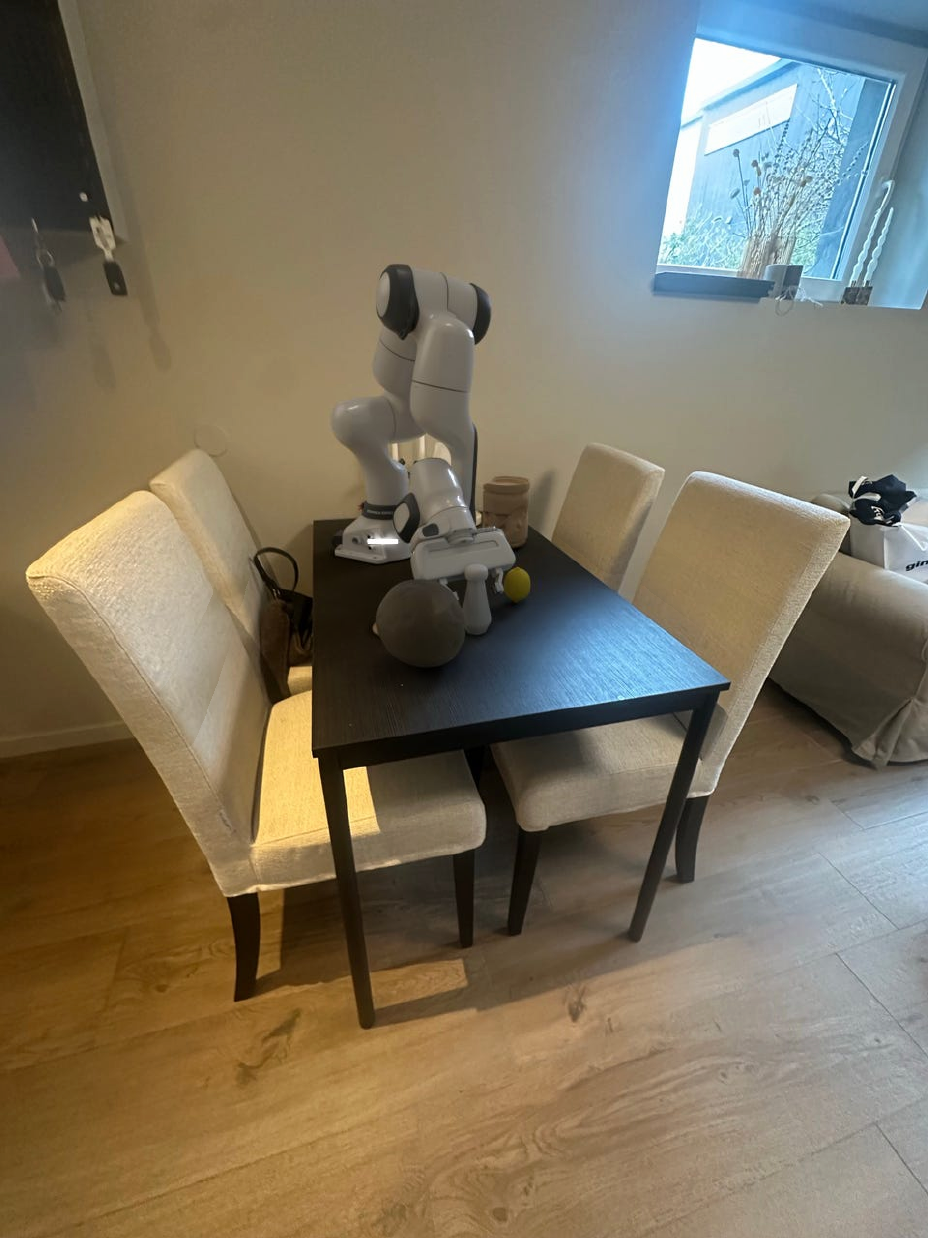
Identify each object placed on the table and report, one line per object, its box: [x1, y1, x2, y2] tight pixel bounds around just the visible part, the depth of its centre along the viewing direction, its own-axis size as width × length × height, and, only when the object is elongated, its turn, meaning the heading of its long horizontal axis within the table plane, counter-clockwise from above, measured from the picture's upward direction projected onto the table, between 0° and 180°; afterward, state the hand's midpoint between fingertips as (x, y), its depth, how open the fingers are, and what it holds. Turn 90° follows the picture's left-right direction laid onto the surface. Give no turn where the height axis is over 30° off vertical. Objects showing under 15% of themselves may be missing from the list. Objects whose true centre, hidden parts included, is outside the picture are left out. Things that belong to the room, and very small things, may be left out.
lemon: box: [503, 566, 531, 603], centre depth 105 cm, size 6×6×8 cm
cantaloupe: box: [375, 578, 466, 669], centre depth 81 cm, size 14×14×15 cm
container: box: [482, 475, 531, 549], centre depth 137 cm, size 13×13×18 cm
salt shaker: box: [462, 564, 492, 636], centre depth 93 cm, size 6×6×13 cm
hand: (477, 597), depth 92 cm, fingers open, 8 cm apart
